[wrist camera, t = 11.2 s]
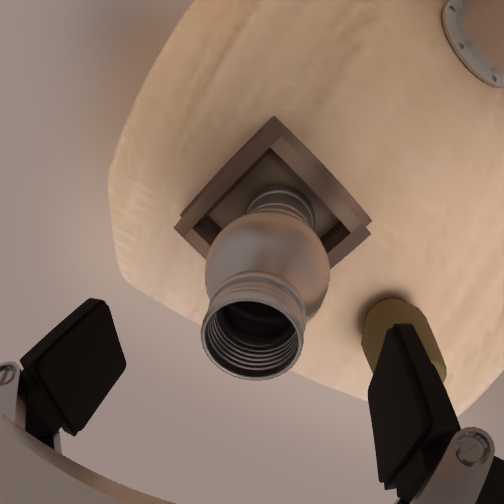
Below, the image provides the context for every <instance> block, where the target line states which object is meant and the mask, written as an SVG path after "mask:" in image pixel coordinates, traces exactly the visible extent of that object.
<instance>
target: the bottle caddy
mask: <svg viewBox="0 0 504 504" xmlns="http://www.w3.org/2000/svg"><path fill="white" fill-rule="evenodd" d="M279 184H280V185H288V186H291V187H294V188H296V189H298V190H299V191H301V192H302V193H303V194H304V195H305V196H306V197H307V198H308V199H309V201H310V202H311V204H312V206H313V209H314V212H315V221H316V223H315V230H314V232H315V233H316V235H317V236H318V237H319V239H320V241H321V243H322V245H323V247H324V249H325V251H326V253H327V256H328V260H329V265H330V269H331V268H332V267H334V266H335V265H336V264H337V263H338V262H340V261H341V260H342V259H343V258H344V257H345V256H347V255H348V254H349V253H350V252H351V251H352V250H354V249H355V248H356V247H357V246H358V245H359V244H361V243H362V242H363V241H364V240H365V239H366V238H367V237H368V236H370V235H371V233H370V232H369V231H368V230H367V228H366V226H367V225H368V224H369V223H370V222H371V221H372V220H371V219H370V217H369V216H368V215H367V214H366V213H365V211H364V210H363V209H362V208H361V207H360V205H359V204H358V203H357V202H356V201H355V200H354V198H353V197H352V196H351V195H350V194H349V193H348V192H347V190H346V189H345V188H344V187H343V186H342V185H341V184H340V182H339V181H338V180H337V179H336V178H335V177H334V176H333V175H332V174H331V173H330V172H329V170H328V169H327V168H326V167H325V166H324V165H323V164H322V163H321V162H320V161H319V160H318V159H317V158H316V157H315V156H314V155H313V154H312V153H311V151H310V150H309V149H308V148H307V147H306V146H305V145H304V144H303V143H302V142H301V141H300V140H299V139H298V138H297V137H296V136H295V135H294V134H293V133H292V132H290V131H289V130H288V129H287V128H286V127H285V126H284V125H283V124H282V123H281V122H280V121H279V120H278V119H277V118H276V117H275V116H273V117H272V118H271V119H270V120H269V121H268V122H267V123H266V124H265V125H264V126H263V127H262V128H261V129H260V130H259V131H258V132H257V133H256V134H255V135H254V136H253V137H252V138H251V139H250V140H249V141H248V142H247V143H246V144H245V145H244V146H243V147H242V148H241V149H240V150H239V151H238V152H237V153H236V154H235V155H234V156H233V157H232V158H231V159H230V160H229V161H228V163H227V164H226V165H225V166H224V167H223V168H222V169H221V170H220V171H219V172H218V173H217V174H216V175H215V176H214V177H213V179H212V180H211V181H210V182H209V183H208V184H207V185H206V186H205V187H204V188H203V189H202V191H201V192H200V193H199V194H198V195H197V196H196V197H195V198H194V200H193V201H192V202H191V203H190V204H189V205H188V206H187V208H186V209H185V210H184V211H183V212H182V213H181V214H180V216H181V217H182V218H181V220H180V221H179V222H178V223H177V224H176V225H175V227H174V229H175V230H176V231H177V232H178V233H179V234H180V235H181V236H182V237H183V238H184V239H185V240H186V241H187V242H188V243H189V244H190V245H191V246H192V247H193V248H194V249H195V250H196V251H197V252H198V253H200V254H201V255H202V256H203V257H204V258H205V259H206V260H207V256H208V252H209V250H210V247H211V245H212V243H213V241H214V240H215V239H216V237H217V236H218V234H219V233H220V232H221V231H222V230H223V229H224V228H225V227H227V226H228V225H229V224H230V223H232V222H233V221H234V220H236V219H238V218H240V217H241V216H243V215H244V214H245V210H246V207H247V205H248V203H249V201H250V200H251V198H252V197H253V196H254V195H255V194H256V193H257V192H258V191H260V190H262V189H263V188H265V187H268V186H271V185H279Z"/></svg>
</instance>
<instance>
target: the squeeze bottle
mask: <svg viewBox="0 0 504 504" xmlns="http://www.w3.org/2000/svg"><path fill="white" fill-rule="evenodd" d="M395 323H411V324H413V326H414V328H415V330H416V332H417V334H418V336H419V338H420V340H421V342H422V344H423V346H424V348H425V350H426V352H427V354H428V356H429V358H430V361H431V363H432V364H434V366H435V367H436V369H437V371H438V373H439V376H440V378H441V380H442V383H443V382H444V380H445V378H446V365H445V363H444V360H443V357H442V355H441V352H440V350H439V347H438V345H437V342H436V340H435V337H434V335H433V333H432V330H431V328H430V326H429V323H428V321H427V319H426V317H425V316H424V314H423V313H422V312H421V310H420V309H419V308H417V307H415V306H413V305H411V304H408V303H406V302H404V301H402V300H399V299H397V298H388V299H385V300H382V301H380V302H378V303H377V304H376V305H374V306H373V307H372V308H371V309H370V311H369V313H368V314H367V316H366V320H365V325H364V330H363V335H362V340H361V345H362V348H363V351H364V354H365V356H366V358H367V361H368V363H369V365H370V368H371V370H372V372H373V374H374V371H375V368H376V365H377V362H378V359H379V355H380V352H381V349H382V346H383V342H384V339H385V335H386V332H387V330H388V329H389V328H392V327H393V325H394V324H395ZM443 385H444V384H443ZM445 390H446V389H445ZM446 392H447V391H446Z"/></svg>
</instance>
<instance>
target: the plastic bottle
mask: <svg viewBox="0 0 504 504" xmlns="http://www.w3.org/2000/svg"><path fill="white" fill-rule="evenodd" d="M315 223H316V221H315V212H314V209H313V206H312V204H311V202H310V201H309V199H308V198H307V197H306V196H305V195H304V194H303V193H302V192H301V191H299V190H298V189H296V188H294V187H291V186H288V185H280V184H279V185H271V186H268V187H265V188H263V189H262V190H260V191H258V192H257V193H256V194H255V195H254V196H253V197H252V198H251V200H250V201H249V203H248V205H247V207H246V210H245V214H244V215H243V216H241V217H240V218H238V219H236V220H234V221H233V222H232V223H230V224H229V225H228V226H227V227H225V228H224V229H223V230H222V231H221V232H220V233H219V234H218V236H217V237H216V239H215V240H214V241H213V243H212V245H211V247H210V250H209V252H208V256H207V260H206V267H205V285H206V290H207V294H208V297H209V299H210V303H209V308H208V312H207V313H206V316H205V318H204V320H203V324H202V329H201V341H202V345H203V348H204V350H205V352H206V354H207V356H208V357H209V358H210V360H211V361H212V362H213V363H214V364H215V365H216V366H217V367H218V368H220V369H221V370H223V371H224V372H226V373H228V374H230V375H232V376H234V377H237V378H241V379H245V380H267V379H271V378H274V377H278V376H280V375H281V374H283V373H285V372H287V371H288V370H289V369H290V368H292V366H293V365H294V364H295V363H296V362H297V360H298V358H299V356H300V354H301V351H302V347H303V342H304V341H303V333H304V331H305V326H306V323H307V322H309V321H310V320H311V319H312V318H313V317H314V315H315V314H316V313H317V311H318V310H319V308H320V307H321V304H322V302H323V300H324V297H325V295H326V293H327V290H328V286H329V281H330V265H329V260H328V256H327V253H326V251H325V249H324V247H323V245H322V243H321V241H320V239H319V237H318V236H317V235H316V233H315V232H314V230H315Z"/></svg>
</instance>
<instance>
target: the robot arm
mask: <svg viewBox="0 0 504 504" xmlns="http://www.w3.org/2000/svg"><path fill="white" fill-rule="evenodd" d="M442 22H443V26H444V30H445V33H446V35H447V38H448V40H449V42H450V44H451V46H452V48H453V49H454V51H455V52H456V54H457V55H458V57H459V58H460V59H461V61H462V62H463V63H464V64H465V65H466V67H467V68H468V69H469V70H470V71H471V72H472V73H473V74H475V75H476V76H477V77H478V78H479V79H481V80H482V81H484V82H485V83H487V84H489V85H491V86H494V87H499V88H500V87H504V0H450V1H448V2H447V3H446V5H445V6H444V8H443V12H442ZM20 362H21V364H22V366H23V368H24V369H23V370H22V371H21V369H20V367H19V366H18V364H16V363H15V362H5V363H2V364H0V504H176V503H172V502H169V501H166V500H163V499H160V498H156V497H153V496H150V495H148V494H145V493H142V492H139V491H136V490H134V489H132V488H129V487H126V486H124V485H122V484H119V483H117V482H115V481H112V480H110V479H108V478H106V477H104V476H101V475H99V474H97V473H95V472H93V471H91V470H89V469H87V468H85V467H83V466H81V465H80V464H78V463H76V462H74V461H72V460H70V459H69V458H67V457H65V456H63V455H62V451H61V443H60V434H59V429H60V428H61V427H62V429H63V430H64V431H65V432H67V433H69V434H71V435H72V436H74V437H75V436H76V434H77V432H78V431H81V430H82V429H83V428H84V427H85V425H86V424H87V422H88V421H89V420H90V418H91V417H92V415H93V414H94V412H95V411H96V409H97V408H98V407H99V405H100V404H101V402H102V401H103V400H104V398H105V397H106V395H107V394H108V392H109V391H110V390H111V388H112V387H113V385H114V384H115V383H116V381H117V380H118V379H119V377H120V376H121V374H122V373H123V372H124V370H125V368H126V360H125V357H124V354H123V351H122V348H121V345H120V342H119V339H118V336H117V332H116V329H115V326H114V323H113V319H112V316H111V312H110V309H109V306H108V305H107V304H106V302H105V301H103V300H99V299H94V298H89V299H88V300H86V301H85V302H84V303H83V304H82V305H80V306H79V307H78V308H77V309H76V310H74V312H72V313H71V314H70V315H69V316H67V317H66V318H65V319H64V320H63V321H62V322H61V323H59V324H58V325H57V326H56V327H55V328H54V329H53V330H52V331H50V332H49V333H48V334H47V335H46V336H45V337H44V338H43V339H42V340H41V341H39V343H37V344H36V345H35V346H34V347H33V348H32V349H31V350H30V351H29V352H27V353H26V354H25V355H24V356H23V357H22V358H21V359H20ZM368 402H369V408H370V414H371V421H372V428H373V434H374V442H375V450H376V458H377V468H378V477H379V481H380V482H381V483H383V482H384V487H385V490H389V489H395V488H396V489H397V496H398V497H399V498H398V499H397V500H396V502H395V503H394V504H504V460H501V459H500V458H498V457H496V456H494V452H495V447H494V443H493V440H492V438H491V437H490V436H489V434H488V433H487V432H485V431H484V430H482V429H480V428H476V427H467V428H464V429H461V428H460V425H459V422H458V420H457V417H456V414H455V412H454V409H453V407H452V404H451V402H450V399H449V397H448V394H447V392H446V390H445V387H444V385H443V383H442V380H441V378H440V376H439V373H438V371H437V369H436V367H435V366H434V364H432V363H431V361H430V358H429V356H428V354H427V352H426V350H425V348H424V346H423V344H422V342H421V340H420V338H419V336H418V334H417V332H416V330H415V328H414V326H413V324H411V323H395V324H394V325H393V327H392V328H389V329H388V330H387V332H386V335H385V339H384V342H383V346H382V349H381V352H380V355H379V359H378V362H377V365H376V368H375V371H374V374H373V377H372V380H371V383H370V385H369V388H368Z"/></svg>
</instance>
